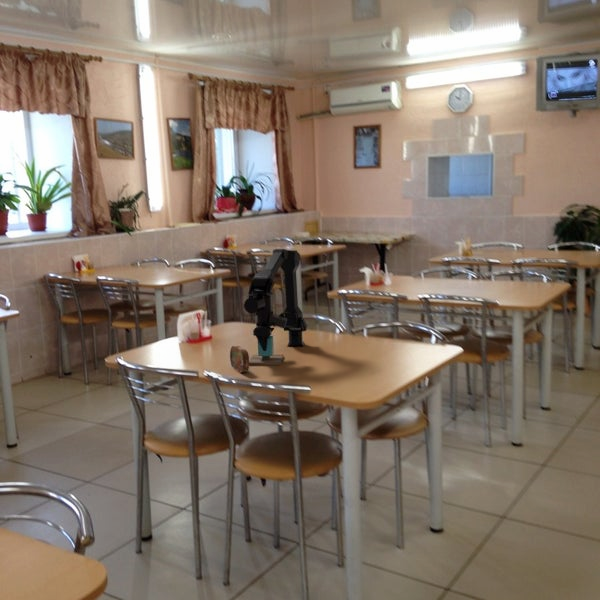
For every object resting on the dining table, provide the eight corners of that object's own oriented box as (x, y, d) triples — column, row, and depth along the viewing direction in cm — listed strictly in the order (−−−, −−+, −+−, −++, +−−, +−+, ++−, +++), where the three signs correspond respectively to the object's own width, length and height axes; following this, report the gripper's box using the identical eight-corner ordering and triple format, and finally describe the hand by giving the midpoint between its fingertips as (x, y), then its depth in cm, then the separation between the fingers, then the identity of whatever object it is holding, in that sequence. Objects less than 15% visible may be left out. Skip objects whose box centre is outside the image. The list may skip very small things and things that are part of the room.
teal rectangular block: (260, 352, 268) (259, 335, 267) (273, 352, 268) (272, 335, 267) (258, 356, 263) (257, 339, 262) (272, 355, 263) (271, 338, 262)
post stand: (252, 357, 272) (252, 337, 271) (283, 357, 271) (282, 336, 270) (248, 365, 260) (247, 344, 259) (280, 365, 259) (279, 344, 258)
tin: (229, 366, 261) (228, 344, 260) (237, 364, 262) (236, 343, 261) (242, 375, 247) (241, 352, 246) (251, 374, 249) (250, 351, 247)
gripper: (282, 312, 253) (284, 354, 255) (287, 303, 271) (289, 343, 274) (252, 313, 254) (254, 355, 256) (259, 304, 272) (261, 343, 275)
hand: (265, 349), depth 265 cm, fingers closed on teal rectangular block, 5 cm apart
